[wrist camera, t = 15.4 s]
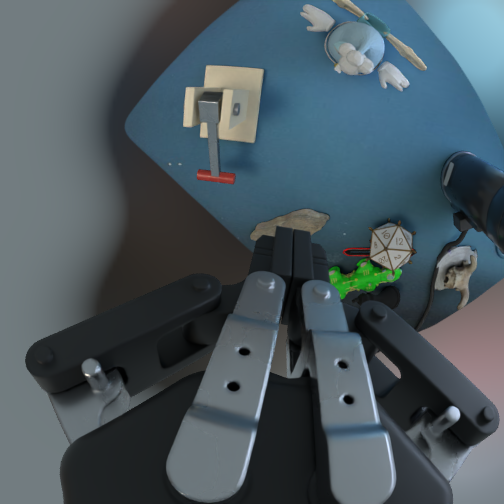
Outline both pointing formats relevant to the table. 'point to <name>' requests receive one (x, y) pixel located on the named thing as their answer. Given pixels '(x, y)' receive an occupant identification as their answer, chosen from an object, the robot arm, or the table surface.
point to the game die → (391, 246)
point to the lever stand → (229, 101)
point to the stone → (292, 223)
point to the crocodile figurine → (361, 277)
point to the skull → (456, 271)
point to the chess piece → (381, 297)
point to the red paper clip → (347, 252)
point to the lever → (213, 137)
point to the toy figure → (361, 44)
